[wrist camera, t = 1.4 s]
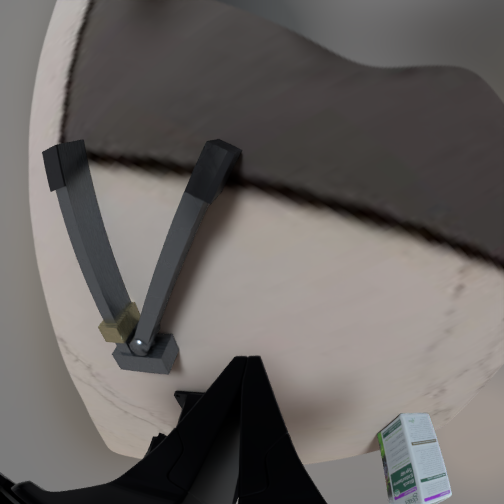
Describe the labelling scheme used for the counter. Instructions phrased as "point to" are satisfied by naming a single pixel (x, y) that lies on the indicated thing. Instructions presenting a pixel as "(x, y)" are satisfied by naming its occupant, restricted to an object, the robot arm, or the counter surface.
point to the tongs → (101, 260)
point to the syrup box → (413, 461)
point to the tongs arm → (183, 235)
